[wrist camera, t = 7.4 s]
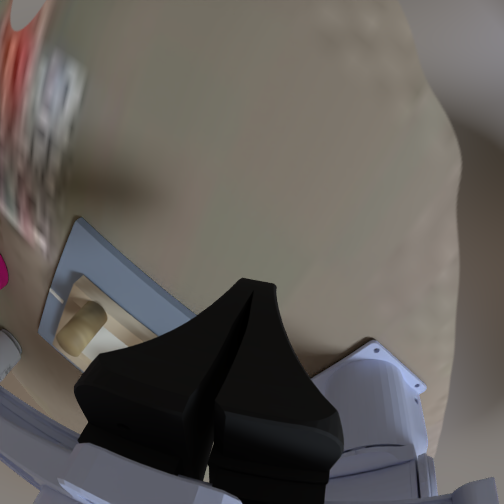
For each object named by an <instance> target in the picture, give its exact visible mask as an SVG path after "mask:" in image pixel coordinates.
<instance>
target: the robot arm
mask: <svg viewBox="0 0 504 504" xmlns="http://www.w3.org/2000/svg"><path fill="white" fill-rule="evenodd" d="M276 288H277V287H276V285H275V284H273V283H268V282H262V281H257V280H251V279H246V278H241V279H239V280H238V281H237V282H236V283H235V284H234V285H233V286H232V287H231V288H230V289H229V290H228V291H227V292H226V293H225V294H224V295H223V296H221V297H220V298H219V299H218V300H217V301H215V302H214V303H213V304H212V305H211V306H209V307H208V308H207V309H205V310H204V311H202V312H201V313H200V314H198V315H197V316H195V317H194V318H192V319H191V320H189V321H188V322H186V323H184V324H183V325H181V326H179V327H177V328H175V329H173V330H171V331H169V332H167V333H165V334H163V335H160V336H158V337H156V338H153V339H151V340H148V341H145V342H143V343H140V344H136V345H133V346H130V347H126V348H122V349H118V350H114V351H109V352H105V353H99V354H98V356H97V357H96V358H95V359H94V360H93V361H92V362H91V363H90V365H89V366H88V367H87V369H86V370H85V372H84V373H83V374H82V376H81V377H80V378H79V380H78V381H77V383H76V384H75V385H74V394H75V397H76V399H77V402H78V404H79V406H80V407H81V409H82V411H83V413H84V415H85V417H86V418H87V420H88V424H87V425H86V427H85V428H84V430H83V432H82V433H81V435H80V434H78V433H76V432H74V431H72V430H71V429H69V428H67V427H65V426H63V425H61V424H60V423H58V422H56V421H54V420H53V419H51V418H49V417H47V416H46V415H44V414H42V413H41V412H39V411H37V410H36V409H34V408H33V407H31V406H30V405H28V404H26V403H25V402H23V401H22V400H20V399H19V398H17V397H16V396H14V395H13V394H12V393H10V392H9V391H7V390H6V389H4V388H3V387H2V386H0V460H1V461H2V462H3V463H5V464H6V465H7V466H8V467H9V468H11V469H12V470H13V471H14V472H16V473H17V474H18V475H19V476H21V477H22V478H23V479H25V480H26V481H27V482H29V483H30V484H32V485H33V486H35V487H36V488H37V489H39V490H40V492H39V494H38V496H37V498H36V499H35V501H34V503H33V504H499V501H498V494H497V489H496V484H495V478H494V477H490V478H486V479H482V480H477V481H473V482H469V483H467V484H465V485H463V486H461V487H459V488H458V489H456V490H455V491H454V492H453V493H451V494H445V495H439V496H438V492H437V483H436V475H435V467H434V460H433V458H432V457H430V456H427V454H426V451H427V447H428V438H427V432H426V426H425V421H424V416H423V411H422V406H421V402H420V397H419V394H421V393H422V392H424V391H425V390H426V388H427V387H426V384H424V383H423V382H422V381H421V380H420V379H419V378H418V377H417V376H416V375H415V374H413V373H412V372H411V371H410V370H409V369H408V368H407V367H406V366H405V365H403V364H402V363H401V362H400V361H399V360H398V359H397V358H396V357H395V356H393V355H392V354H391V353H390V352H389V351H388V350H387V349H386V348H384V347H383V346H382V345H381V344H380V343H379V342H378V341H376V340H371V341H369V342H368V343H366V344H365V345H363V346H362V347H360V348H359V349H357V350H356V351H354V352H353V353H351V354H350V355H348V356H347V357H345V358H343V359H342V360H340V361H339V362H337V363H336V364H334V365H332V366H331V367H329V368H328V369H326V370H324V371H323V372H321V373H319V374H318V375H316V376H314V377H313V378H311V379H310V377H309V376H308V374H307V373H306V371H305V370H304V368H303V366H302V365H301V363H300V361H299V360H298V358H297V356H296V354H295V352H294V350H293V348H292V346H291V344H290V341H289V339H288V337H287V334H286V331H285V329H284V326H283V323H282V319H281V316H280V312H279V308H278V303H277V296H276ZM376 348H378V349H376ZM375 349H376V350H375ZM213 442H214V444H213ZM212 445H213V447H212ZM211 449H212V450H211ZM210 453H211V454H210ZM209 456H210V457H209ZM207 464H208V466H209V483H208V482H204V481H203V479H204V475H205V471H206V467H207Z"/></svg>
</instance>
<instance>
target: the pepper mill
mask: <svg viewBox="0 0 504 504" xmlns="http://www.w3.org/2000/svg"><path fill="white" fill-rule="evenodd" d="M7 283H8V272H7V268H6V265H5V262H4V260H3V258H2V256H1V254H0V290H1V289H2V288H3V287H4V286H6V285H7Z"/></svg>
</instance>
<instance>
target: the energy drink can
mask: <svg viewBox="0 0 504 504" xmlns="http://www.w3.org/2000/svg"><path fill="white" fill-rule="evenodd" d="M21 353H22V350H21V347H20V345H19V343H18V342H17V340H16V339H15V338H14V337H13V335H12V334H11V333H9V332H8V331H7V330H5V329H2V330H0V382H1V381H2V379H4V377H5V376H6V375H7V374H8V373H9V372H10V370H11V369H12V368H13V367H14V366H15V365H16V364H17V362H18V361H19V360H20V359H21V356H20V354H21Z"/></svg>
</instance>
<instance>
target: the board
mask: <svg viewBox="0 0 504 504" xmlns="http://www.w3.org/2000/svg"><path fill="white" fill-rule="evenodd" d="M83 275H84V276H85V277H86V278H87V279H89V280H90V281H91V282H92V283H93V284H94V285H95V286H96V287H98V288H99V289H100V290H101V291H102V292H103V293H105V294H106V295H107V296H108V297H109V298H110V299H112V300H113V301H114V302H115V303H116V304H118V305H119V306H120V307H121V308H123V309H124V310H125V311H126V312H127V313H129V314H130V315H131V316H132V317H134V318H135V319H136V320H137V321H139V322H140V323H141V324H143V325H144V326H145V327H146V328H148V329H149V330H150V331H152V332H153V333H154V334H156V335H157V336H160V335H163V334H165V333H167V332H169V331H171V330H173V329H175V328H177V327H179V326H181V325H183V324H184V323H186V322H188V321H189V320H191V319H192V318H194V317H195V316H197V315H195V314H194V313H193V312H191V311H190V310H189V309H188V308H186V307H185V306H184V305H183V304H181V303H180V302H179V301H178V300H176V299H175V298H174V297H173V296H171V295H170V294H169V293H168V292H166V291H165V290H164V289H163V288H162V287H160V286H159V285H158V284H157V283H155V282H154V281H153V280H152V279H151V278H149V277H148V276H147V275H146V274H145V273H144V272H142V271H141V270H140V269H139V268H138V267H136V266H135V265H134V264H133V263H132V262H131V261H130V260H128V259H127V258H126V257H125V256H124V255H123V254H122V253H120V252H119V251H118V250H117V249H116V248H115V247H114V246H113V245H111V244H110V243H109V242H108V241H107V240H106V239H105V238H104V237H103V236H101V235H100V234H99V233H98V232H97V231H96V230H95V229H94V228H93V227H92V226H91V225H90V224H88V223H87V222H86V221H85V220H84V219H83V218H82V217H81V218H79V219H77V220H76V221H75V223H74V226H73V228H72V231H71V233H70V236H69V238H68V241H67V243H66V246H65V248H64V251H63V254H62V256H61V259H60V262H59V264H58V267H57V270H56V273H55V276H54V279H53V282H52V285H51V288H50V290H49V294H48V298H47V301H46V304H45V308H44V311H43V315H42V318H41V322H40V326H39V330H38V333H39V334H40V335H41V336H42V337H43V338H44V339H45V340H46V341H47V342H48V343H49V344H50V345H51V346H52V347H53V348H55V347H54V346H53V345H52V344H53V341H54V338H55V334H56V331H57V328H58V325H59V322H60V319H61V316H62V314H63V311H64V308H65V305H66V303H67V300H68V297H69V294H70V292H71V289H72V287H73V284H74V283H75V282H76V281H77V280H78V279H79V278H80V277H82V276H83ZM55 349H56V348H55ZM56 350H57V351H58V352H59V353H60V354H61V355H62V356H64V355H63V354H62V353H61V352H60V351H59V350H58V349H56ZM64 357H65V358H66V359H67V360H68V361H69V362H70V363H72V364H73V365H74V366H75V367H76V368H78V369H79V370H80V371H81V372H82V373H84V371H82V370H81V369H80V368H79V367H77V366H76V365H75V364H74V363H73V362H71V361H70V360H69V359H68V358H67V357H66V356H64Z"/></svg>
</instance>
